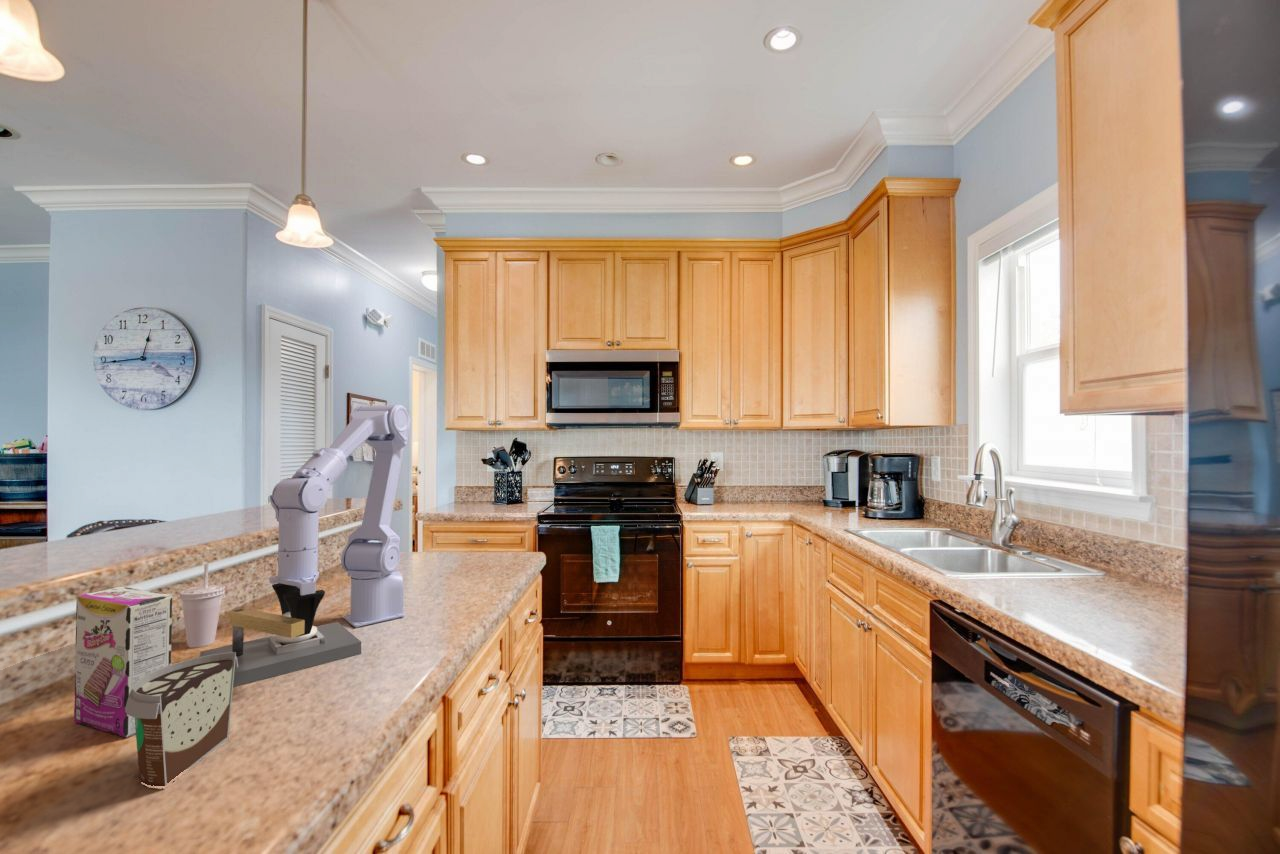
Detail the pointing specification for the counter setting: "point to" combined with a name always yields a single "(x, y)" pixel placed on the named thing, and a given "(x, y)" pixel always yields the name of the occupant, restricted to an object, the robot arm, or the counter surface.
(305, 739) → the counter surface
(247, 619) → the tan l-shaped bar
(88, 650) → the candy bar box
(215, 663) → the food container
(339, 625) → the socket block
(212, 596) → the smoothie
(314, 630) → the plug
